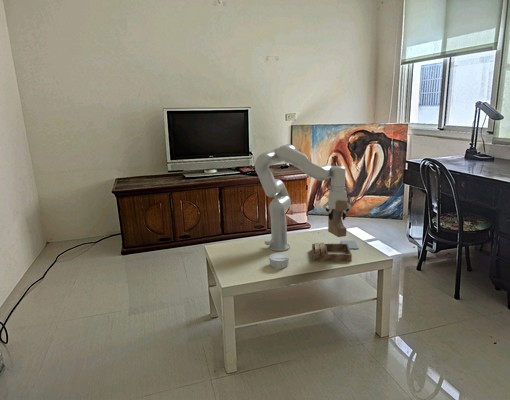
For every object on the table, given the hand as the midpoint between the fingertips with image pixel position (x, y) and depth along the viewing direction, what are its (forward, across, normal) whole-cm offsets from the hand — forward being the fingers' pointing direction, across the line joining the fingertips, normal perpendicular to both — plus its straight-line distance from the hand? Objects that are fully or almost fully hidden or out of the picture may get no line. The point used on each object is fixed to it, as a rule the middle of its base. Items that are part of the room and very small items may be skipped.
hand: (336, 219), depth 202 cm
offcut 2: (+22, -8, 0) cm, 23 cm away
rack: (+22, -3, 0) cm, 22 cm away
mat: (+22, +10, +16) cm, 29 cm away
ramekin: (+23, -32, -14) cm, 42 cm away
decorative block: (+9, 0, 0) cm, 9 cm away
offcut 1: (+22, -11, 0) cm, 24 cm away
